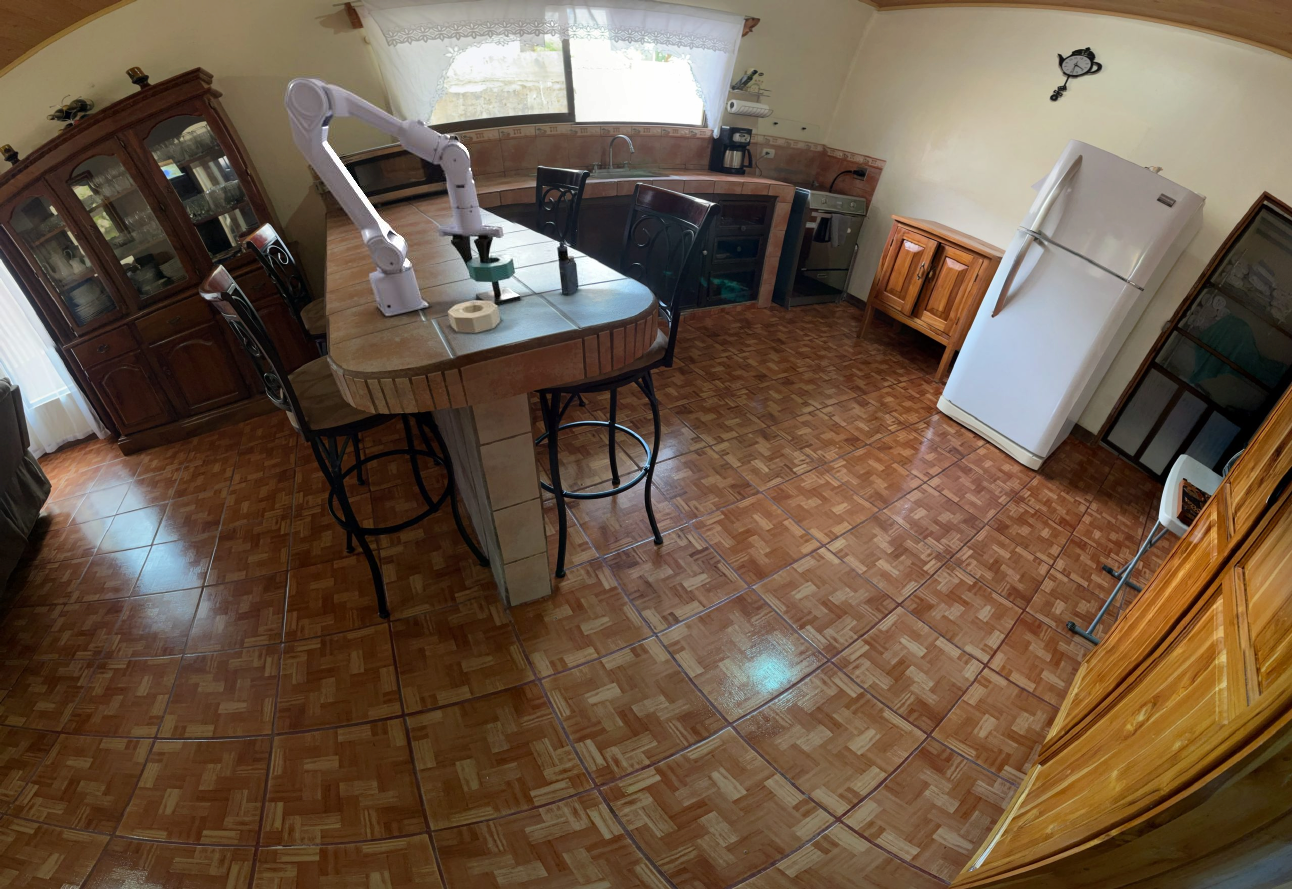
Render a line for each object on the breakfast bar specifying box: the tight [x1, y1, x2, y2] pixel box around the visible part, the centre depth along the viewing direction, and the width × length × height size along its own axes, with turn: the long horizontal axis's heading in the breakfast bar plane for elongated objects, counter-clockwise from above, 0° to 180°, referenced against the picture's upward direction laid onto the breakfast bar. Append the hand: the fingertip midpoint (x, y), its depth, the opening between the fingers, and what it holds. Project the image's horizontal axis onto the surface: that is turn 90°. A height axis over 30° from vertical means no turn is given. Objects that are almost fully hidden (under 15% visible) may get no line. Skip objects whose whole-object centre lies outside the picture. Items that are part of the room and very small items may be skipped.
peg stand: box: [475, 281, 521, 307], centre depth 120 cm, size 8×8×6 cm
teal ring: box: [467, 253, 516, 283], centre depth 118 cm, size 10×10×3 cm
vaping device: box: [556, 241, 579, 296], centre depth 121 cm, size 3×5×12 cm, turn 152°
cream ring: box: [447, 299, 501, 334], centre depth 109 cm, size 10×10×3 cm
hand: (478, 268), depth 118 cm, fingers closed on teal ring, 3 cm apart
